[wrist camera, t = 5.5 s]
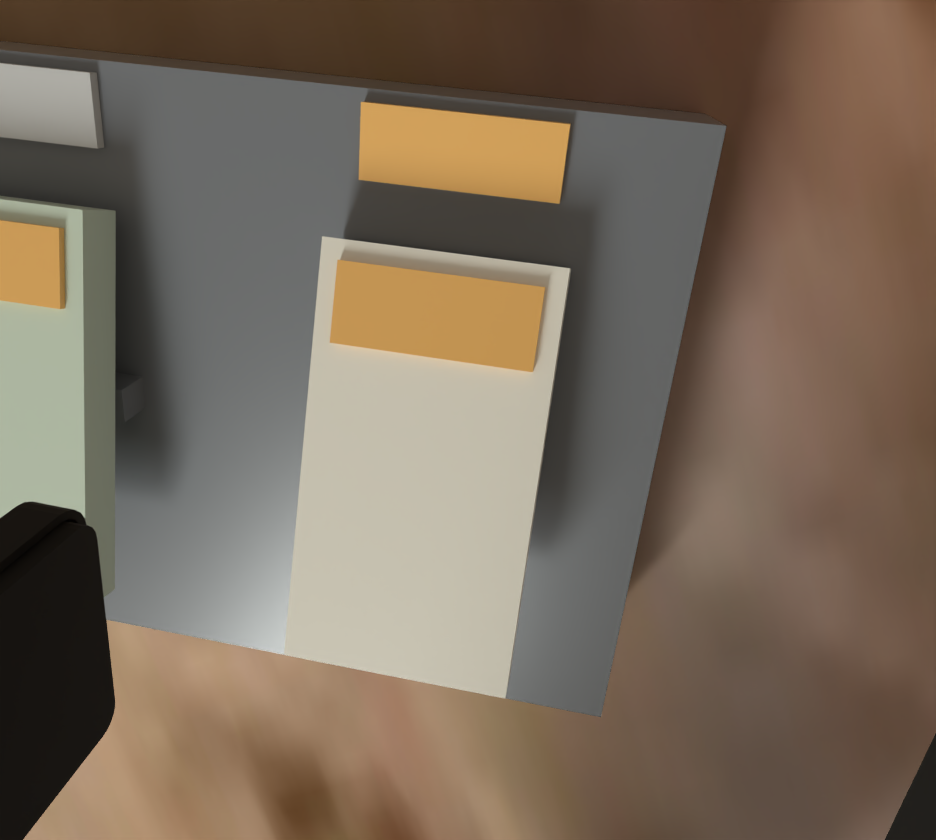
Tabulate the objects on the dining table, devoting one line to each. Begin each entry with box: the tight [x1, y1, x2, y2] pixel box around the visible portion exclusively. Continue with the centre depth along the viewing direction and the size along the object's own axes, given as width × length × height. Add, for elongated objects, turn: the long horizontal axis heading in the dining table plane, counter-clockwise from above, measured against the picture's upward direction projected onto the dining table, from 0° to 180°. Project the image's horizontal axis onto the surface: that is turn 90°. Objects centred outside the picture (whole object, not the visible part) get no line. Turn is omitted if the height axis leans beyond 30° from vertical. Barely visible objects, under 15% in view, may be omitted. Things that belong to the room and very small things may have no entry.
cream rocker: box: [284, 236, 571, 698], centre depth 20 cm, size 11×6×2 cm, turn 175°
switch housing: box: [0, 41, 726, 717], centre depth 25 cm, size 18×24×6 cm
